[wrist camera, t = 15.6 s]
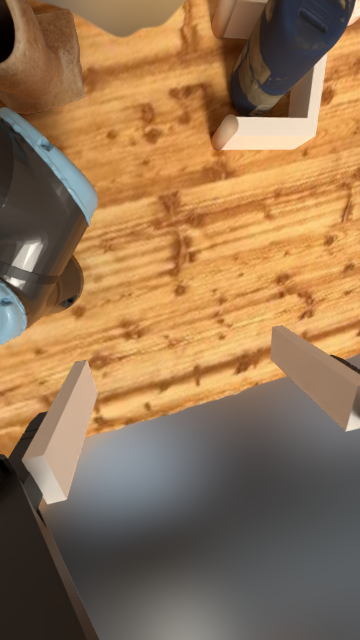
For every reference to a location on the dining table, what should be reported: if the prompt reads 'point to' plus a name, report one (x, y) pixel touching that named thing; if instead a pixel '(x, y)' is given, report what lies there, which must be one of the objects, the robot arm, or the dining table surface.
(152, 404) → the dining table surface
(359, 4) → the white cup
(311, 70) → the bracket
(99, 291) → the dining table surface
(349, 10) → the canister
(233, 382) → the dining table surface
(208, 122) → the dining table surface
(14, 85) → the stone cup
